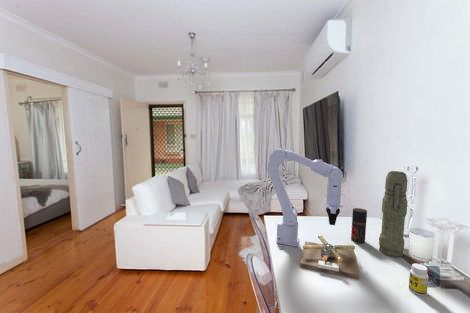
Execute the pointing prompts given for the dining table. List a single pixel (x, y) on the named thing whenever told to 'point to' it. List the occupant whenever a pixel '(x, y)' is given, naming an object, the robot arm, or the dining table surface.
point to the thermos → (393, 214)
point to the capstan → (329, 250)
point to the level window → (328, 266)
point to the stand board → (345, 267)
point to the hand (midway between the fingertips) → (332, 224)
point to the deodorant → (358, 225)
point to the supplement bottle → (418, 279)
